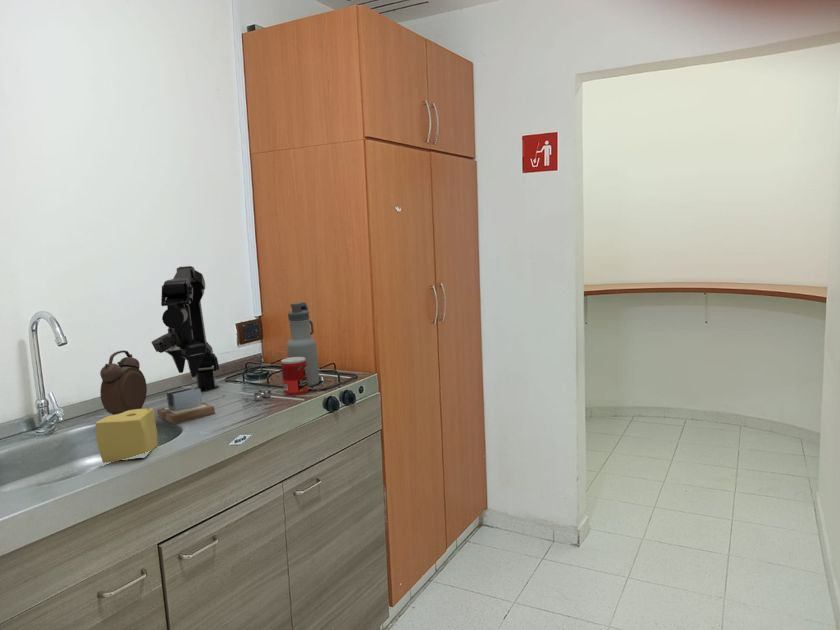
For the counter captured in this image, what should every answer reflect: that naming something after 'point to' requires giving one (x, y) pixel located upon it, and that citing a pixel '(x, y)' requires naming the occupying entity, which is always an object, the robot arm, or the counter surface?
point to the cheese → (126, 434)
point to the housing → (184, 398)
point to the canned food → (294, 375)
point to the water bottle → (303, 340)
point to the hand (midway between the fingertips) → (187, 374)
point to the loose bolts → (262, 395)
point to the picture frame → (186, 413)
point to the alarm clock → (122, 385)
